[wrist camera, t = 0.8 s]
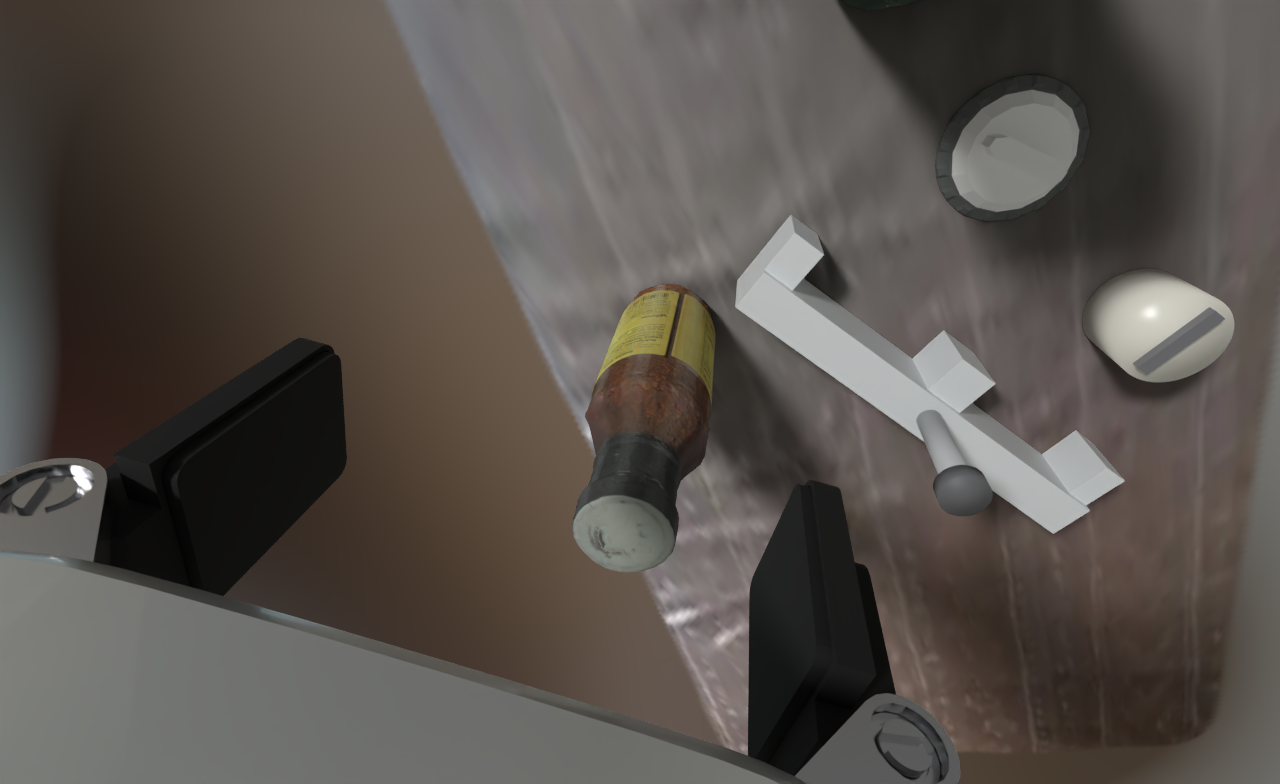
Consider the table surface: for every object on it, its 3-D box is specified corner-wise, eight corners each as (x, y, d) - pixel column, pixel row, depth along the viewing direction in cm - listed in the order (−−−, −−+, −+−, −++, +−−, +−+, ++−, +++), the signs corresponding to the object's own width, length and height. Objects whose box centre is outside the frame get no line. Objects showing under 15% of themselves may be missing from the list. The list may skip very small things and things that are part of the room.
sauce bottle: (612, 346, 41) (510, 557, 24) (641, 264, 38) (547, 442, 21) (700, 380, 41) (661, 614, 24) (737, 302, 38) (722, 509, 21)
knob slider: (1144, 250, 32) (1196, 277, 28) (1206, 302, 33) (1265, 335, 29) (1062, 318, 35) (1100, 351, 31) (1121, 365, 36) (1165, 403, 32)
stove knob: (992, 47, 29) (1014, 48, 27) (1120, 110, 30) (1153, 115, 27) (904, 187, 33) (916, 199, 31) (1019, 241, 34) (1040, 256, 31)
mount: (790, 214, 35) (804, 280, 25) (1092, 442, 38) (1207, 577, 29) (737, 280, 37) (730, 363, 27) (1025, 488, 41) (1110, 626, 31)
